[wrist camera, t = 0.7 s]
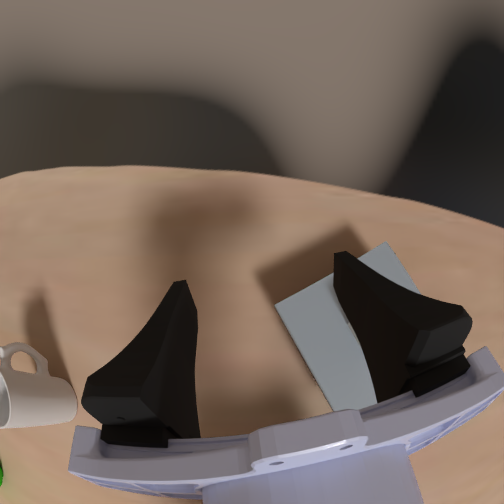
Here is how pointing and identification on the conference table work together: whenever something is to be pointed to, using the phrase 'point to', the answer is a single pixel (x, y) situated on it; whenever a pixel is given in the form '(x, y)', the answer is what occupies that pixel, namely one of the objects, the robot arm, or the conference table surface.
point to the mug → (32, 393)
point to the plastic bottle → (0, 475)
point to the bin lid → (337, 334)
